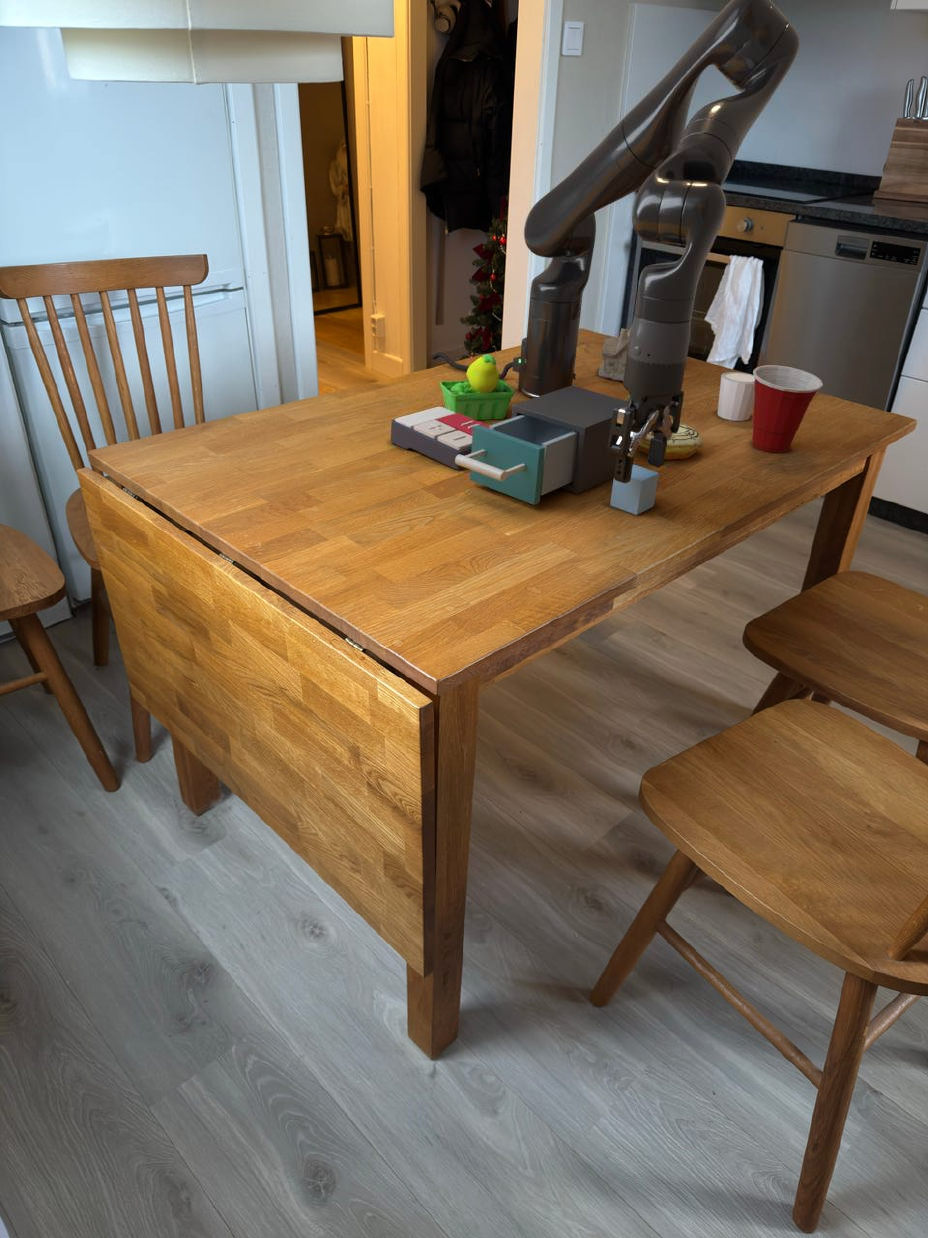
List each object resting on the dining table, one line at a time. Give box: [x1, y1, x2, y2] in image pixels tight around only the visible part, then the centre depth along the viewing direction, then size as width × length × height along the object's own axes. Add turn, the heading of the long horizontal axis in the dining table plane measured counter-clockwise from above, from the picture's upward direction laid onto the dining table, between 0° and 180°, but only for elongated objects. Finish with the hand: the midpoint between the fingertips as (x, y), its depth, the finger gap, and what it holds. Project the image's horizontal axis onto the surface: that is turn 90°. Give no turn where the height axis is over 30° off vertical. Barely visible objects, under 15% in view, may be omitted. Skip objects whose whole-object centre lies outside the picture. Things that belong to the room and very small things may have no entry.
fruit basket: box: [439, 353, 516, 421], centre depth 151 cm, size 11×9×11 cm
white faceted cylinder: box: [717, 371, 755, 422], centre depth 159 cm, size 7×7×7 cm
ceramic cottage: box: [598, 327, 631, 382], centre depth 178 cm, size 16×16×15 cm
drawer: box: [455, 414, 580, 506], centre depth 125 cm, size 19×12×8 cm, turn 138°
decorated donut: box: [637, 421, 704, 461], centre depth 143 cm, size 10×11×4 cm
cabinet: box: [511, 384, 639, 495], centre depth 133 cm, size 15×13×10 cm
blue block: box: [609, 463, 660, 516], centre depth 123 cm, size 4×4×5 cm
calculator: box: [390, 406, 490, 471], centre depth 139 cm, size 11×4×15 cm
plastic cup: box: [752, 364, 824, 453], centre depth 145 cm, size 11×11×12 cm
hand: (638, 473), depth 122 cm, fingers open, 8 cm apart
